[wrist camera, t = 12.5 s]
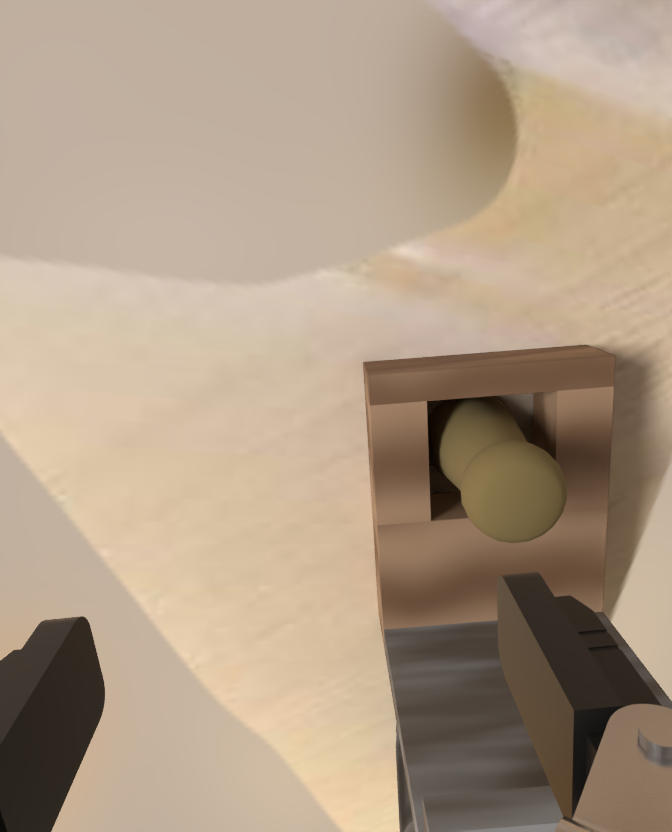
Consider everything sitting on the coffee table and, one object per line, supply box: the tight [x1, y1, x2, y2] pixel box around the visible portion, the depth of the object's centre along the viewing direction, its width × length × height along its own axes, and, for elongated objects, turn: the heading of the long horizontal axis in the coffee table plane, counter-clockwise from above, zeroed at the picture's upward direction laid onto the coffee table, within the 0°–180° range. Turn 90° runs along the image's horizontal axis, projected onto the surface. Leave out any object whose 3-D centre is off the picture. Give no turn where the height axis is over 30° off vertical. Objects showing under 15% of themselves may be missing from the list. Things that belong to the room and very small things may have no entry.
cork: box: [427, 396, 567, 543], centre depth 35 cm, size 6×6×11 cm
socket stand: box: [363, 345, 672, 832], centre depth 31 cm, size 18×14×22 cm
